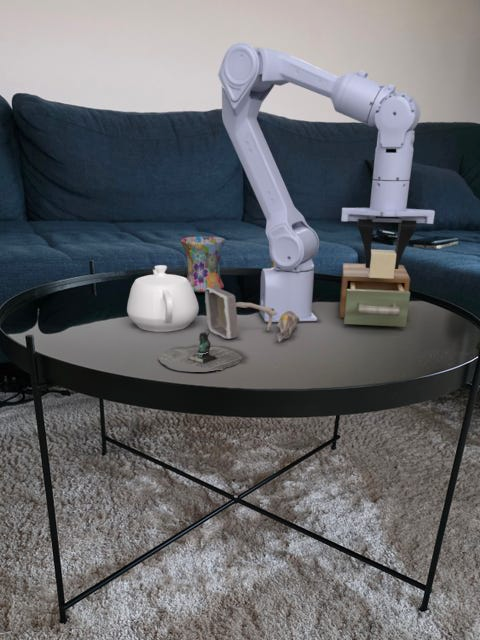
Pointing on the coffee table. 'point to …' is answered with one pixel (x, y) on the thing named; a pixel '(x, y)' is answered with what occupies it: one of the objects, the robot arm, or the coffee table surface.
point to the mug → (203, 262)
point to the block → (382, 264)
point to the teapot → (162, 302)
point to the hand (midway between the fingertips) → (381, 267)
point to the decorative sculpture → (225, 315)
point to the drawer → (376, 304)
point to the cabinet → (367, 280)
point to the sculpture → (204, 355)
